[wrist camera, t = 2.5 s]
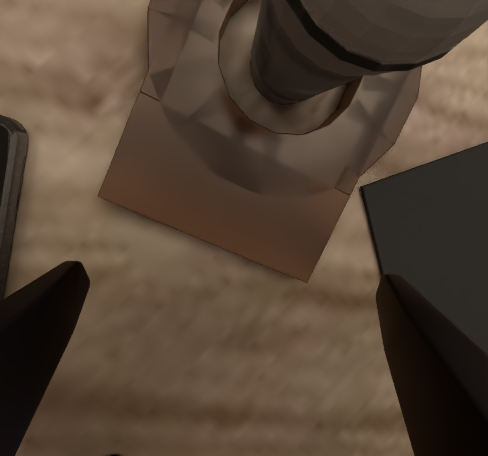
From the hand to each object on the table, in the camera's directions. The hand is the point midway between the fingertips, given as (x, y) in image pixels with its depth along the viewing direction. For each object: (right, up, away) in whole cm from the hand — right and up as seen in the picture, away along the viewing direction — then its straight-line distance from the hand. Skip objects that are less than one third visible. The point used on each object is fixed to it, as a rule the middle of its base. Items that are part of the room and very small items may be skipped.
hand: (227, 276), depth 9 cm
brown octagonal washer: (+2, +10, +11) cm, 15 cm away
